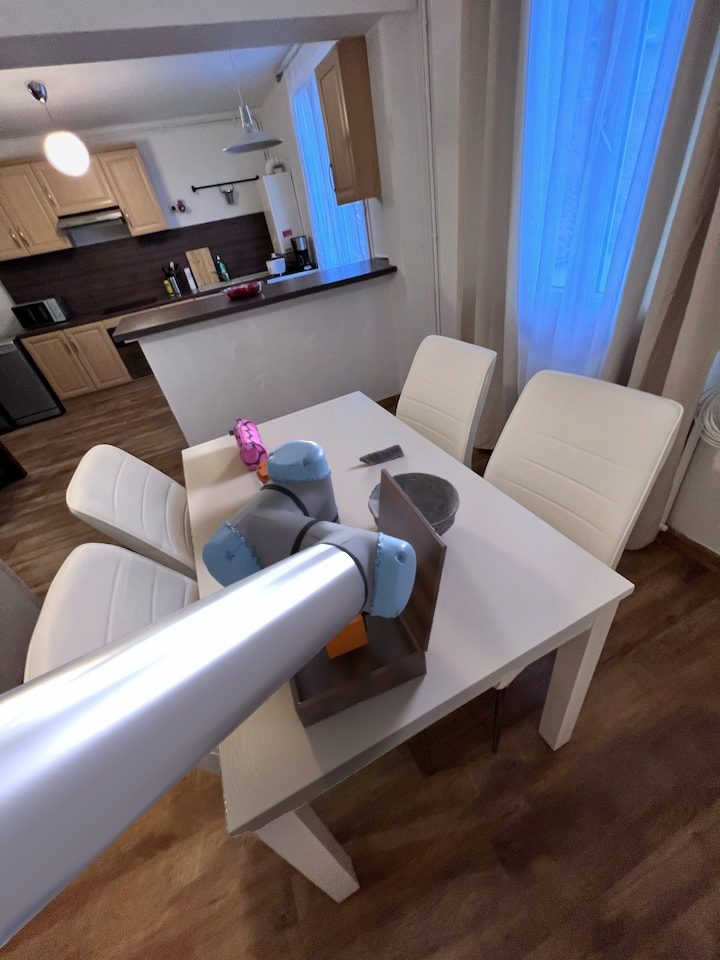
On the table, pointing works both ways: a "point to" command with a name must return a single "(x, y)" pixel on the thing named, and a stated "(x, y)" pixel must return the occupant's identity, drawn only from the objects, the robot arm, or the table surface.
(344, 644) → the cube
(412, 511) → the lid
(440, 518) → the bowl
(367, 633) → the box
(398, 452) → the artifact
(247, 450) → the pencil case
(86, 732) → the robot arm
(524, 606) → the table surface
